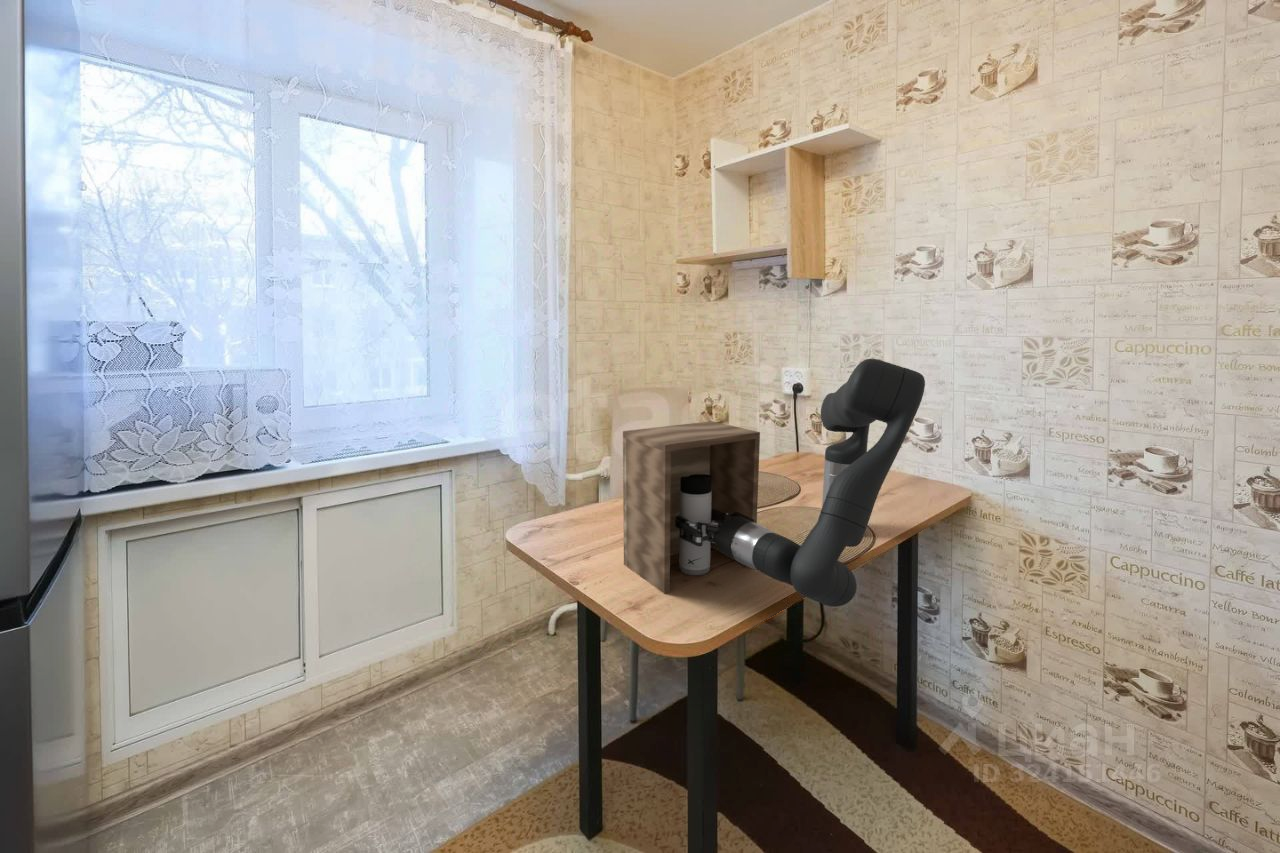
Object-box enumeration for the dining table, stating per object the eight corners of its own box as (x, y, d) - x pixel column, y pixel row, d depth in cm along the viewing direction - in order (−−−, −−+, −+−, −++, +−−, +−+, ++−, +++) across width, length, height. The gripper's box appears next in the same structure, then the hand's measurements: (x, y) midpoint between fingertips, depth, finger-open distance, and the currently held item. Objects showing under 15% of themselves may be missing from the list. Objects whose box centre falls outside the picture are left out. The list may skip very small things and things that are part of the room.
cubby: (755, 566, 116) (760, 432, 111) (664, 593, 104) (665, 444, 99) (709, 542, 128) (711, 421, 123) (623, 564, 117) (622, 431, 112)
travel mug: (694, 579, 110) (696, 480, 107) (672, 567, 115) (673, 473, 112) (717, 570, 114) (719, 475, 110) (695, 560, 119) (697, 468, 115)
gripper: (779, 516, 102) (722, 493, 116) (718, 531, 95) (665, 505, 109) (777, 554, 104) (721, 528, 117) (717, 572, 96) (664, 541, 110)
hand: (694, 517), depth 113 cm, fingers open, 8 cm apart
